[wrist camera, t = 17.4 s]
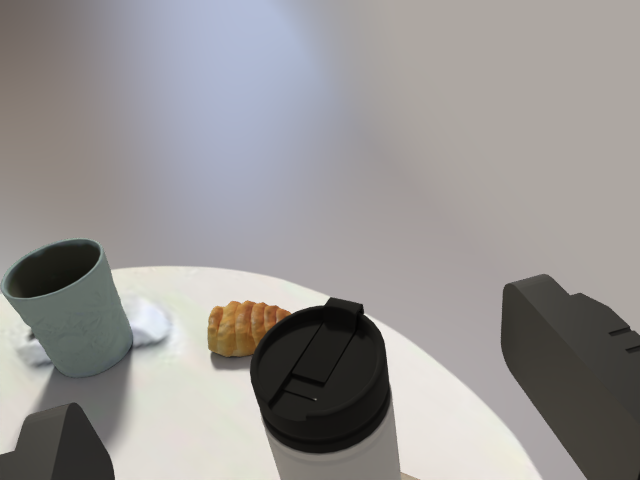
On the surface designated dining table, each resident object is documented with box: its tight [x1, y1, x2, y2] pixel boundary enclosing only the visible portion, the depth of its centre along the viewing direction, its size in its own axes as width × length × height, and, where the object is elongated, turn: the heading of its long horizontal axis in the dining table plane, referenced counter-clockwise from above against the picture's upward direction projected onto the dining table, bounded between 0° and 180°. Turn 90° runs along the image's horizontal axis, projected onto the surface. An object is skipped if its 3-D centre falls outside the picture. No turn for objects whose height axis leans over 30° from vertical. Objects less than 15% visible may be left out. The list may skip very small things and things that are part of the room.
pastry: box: [208, 300, 291, 357], centre depth 58 cm, size 9×7×4 cm
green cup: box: [0, 238, 133, 378], centre depth 58 cm, size 10×10×12 cm
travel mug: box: [250, 297, 401, 480], centre depth 29 cm, size 6×7×20 cm
